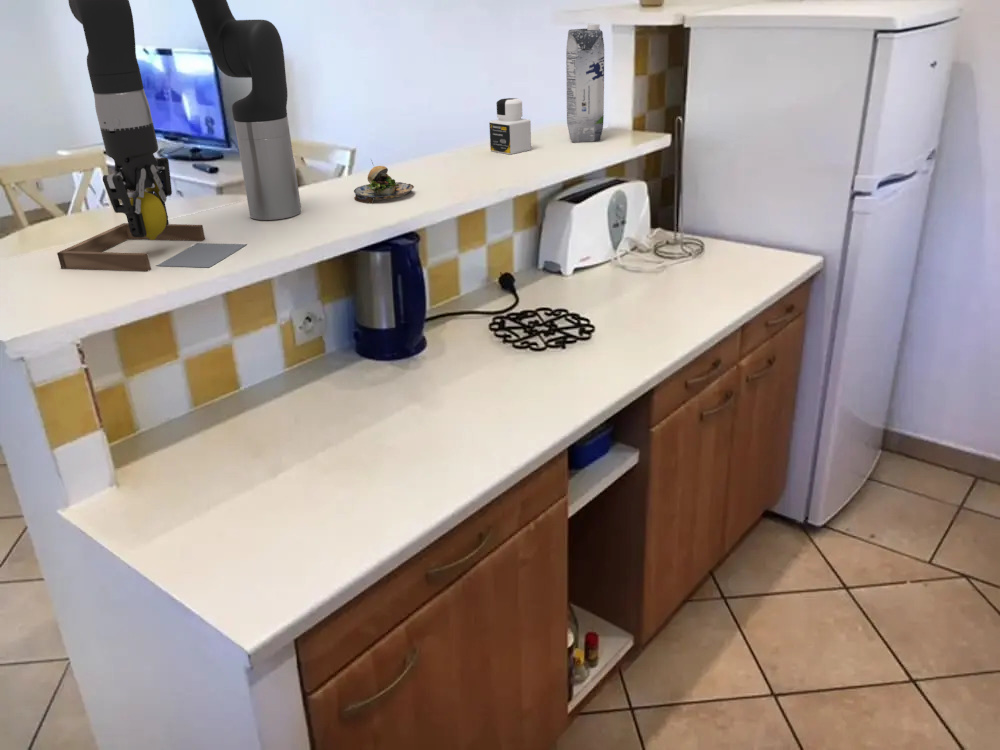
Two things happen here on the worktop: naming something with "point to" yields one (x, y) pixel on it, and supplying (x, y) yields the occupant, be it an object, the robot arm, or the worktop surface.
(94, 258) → the bay
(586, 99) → the juice carton
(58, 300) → the worktop surface
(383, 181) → the burger
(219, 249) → the mat
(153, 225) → the lemon
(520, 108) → the medicine bottle
